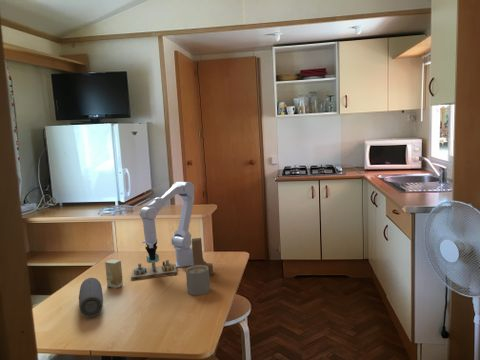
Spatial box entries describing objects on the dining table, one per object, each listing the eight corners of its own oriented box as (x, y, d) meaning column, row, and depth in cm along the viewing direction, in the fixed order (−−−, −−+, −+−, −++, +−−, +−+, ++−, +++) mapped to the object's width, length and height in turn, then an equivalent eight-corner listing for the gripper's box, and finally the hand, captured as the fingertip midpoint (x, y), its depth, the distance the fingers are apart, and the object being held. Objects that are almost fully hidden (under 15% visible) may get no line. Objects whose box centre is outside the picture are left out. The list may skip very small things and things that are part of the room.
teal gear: (159, 258, 202) (158, 252, 201) (159, 262, 196) (158, 256, 196) (147, 260, 201) (146, 254, 200) (147, 263, 195) (146, 258, 194)
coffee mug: (209, 294, 172) (207, 272, 171) (186, 296, 172) (184, 273, 171) (211, 282, 186) (209, 261, 184) (189, 284, 185) (187, 263, 184)
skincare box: (107, 286, 189) (104, 261, 187) (113, 283, 193) (111, 258, 191) (117, 288, 186) (114, 263, 184) (123, 285, 190) (121, 260, 188)
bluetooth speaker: (80, 300, 176) (78, 278, 174) (103, 295, 179) (100, 274, 178) (79, 322, 155) (76, 298, 153) (105, 317, 158) (102, 293, 156)
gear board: (176, 266, 210) (175, 255, 209) (176, 274, 199) (175, 262, 198) (132, 272, 206) (131, 261, 205) (131, 280, 195) (130, 268, 194)
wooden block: (213, 272, 199) (210, 236, 196) (213, 275, 194) (210, 239, 192) (195, 273, 198) (191, 238, 196) (194, 277, 194) (191, 241, 191)
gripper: (142, 228, 202) (144, 254, 204) (141, 236, 188) (144, 263, 190) (156, 227, 204) (159, 252, 206) (156, 234, 190) (159, 261, 192)
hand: (152, 258), depth 198 cm, fingers closed on teal gear, 6 cm apart
